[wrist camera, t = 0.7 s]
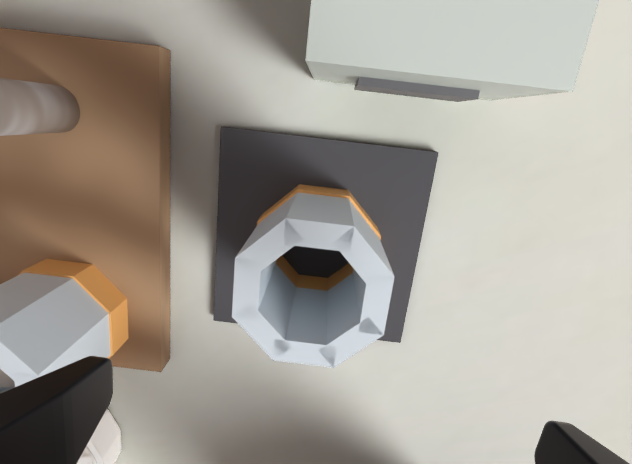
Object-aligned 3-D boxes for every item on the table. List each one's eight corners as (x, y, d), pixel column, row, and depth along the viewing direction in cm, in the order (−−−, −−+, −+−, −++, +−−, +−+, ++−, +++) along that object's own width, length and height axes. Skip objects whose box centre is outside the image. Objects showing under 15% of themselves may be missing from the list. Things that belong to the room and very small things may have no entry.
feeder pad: (399, 338, 21) (400, 342, 20) (215, 316, 21) (213, 320, 20) (436, 151, 18) (438, 152, 17) (223, 126, 18) (220, 126, 18)
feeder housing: (490, 107, 17) (569, 102, 11) (313, 86, 17) (304, 71, 12) (521, -29, 16) (631, -113, 10) (327, -51, 16) (324, -147, 10)
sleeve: (365, 300, 20) (378, 375, 14) (257, 287, 20) (227, 357, 14) (382, 193, 18) (406, 229, 12) (265, 180, 18) (234, 209, 12)
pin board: (169, 358, 22) (115, 439, 16) (12, 339, 22) (-95, 413, 16) (170, 50, 17) (94, 19, 12) (-30, 27, 17) (-199, -15, 12)
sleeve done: (129, 365, 20) (50, 461, 15) (25, 352, 21) (-94, 444, 15) (125, 268, 19) (35, 334, 13) (13, 254, 19) (-126, 314, 13)
